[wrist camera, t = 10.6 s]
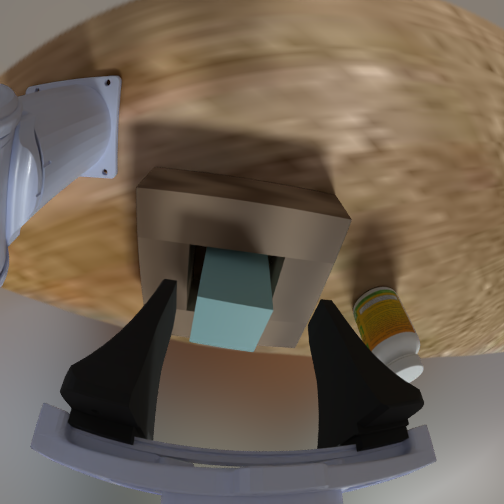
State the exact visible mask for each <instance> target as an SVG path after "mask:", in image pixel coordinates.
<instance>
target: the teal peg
mask: <svg viewBox="0 0 504 504" xmlns="http://www.w3.org/2000/svg"><path fill="white" fill-rule="evenodd" d="M272 312H273V301H272V291H271V281H270V271H269V262H268V255H265V254H258V253H250V252H243V251H236V250H228V249H221V248H214V247H207V249H206V254H205V259H204V264H203V269H202V274H201V279H200V284H199V289H198V295H197V300H196V306H195V312H194V317H193V323H192V329H191V335H190V341H189V342H194V343H200V344H205V345H211V346H217V347H223V348H229V349H235V350H242V351H249V352H254V350H255V348H256V346H257V344H258V342H259V339H260V337H261V335H262V333H263V331H264V329H265V327H266V325H267V323H268V321H269V319H270V316H271V314H272Z"/></svg>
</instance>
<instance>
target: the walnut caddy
mask: <svg viewBox="0 0 504 504" xmlns="http://www.w3.org/2000/svg"><path fill="white" fill-rule="evenodd" d="M136 208H137V234H138V251H139V264H140V275H141V285H142V295H143V303H144V305H145V304H146V303H147V301H148V300H149V299H150V298H151V296H152V295H153V294H154V292H155V291H156V289H157V288H158V286H159V285H160V283H161V282H162V280H163V279H170V280H177V307H176V315H175V321H174V326H173V330H172V334H171V335H175V336H181V337H188V338H190V335H191V329H192V323H193V317H194V312H195V306H196V300H197V295H198V289H199V284H200V280H196V279H193V271H194V256H195V245H199V246H206V247H214V248H221V249H228V250H236V251H243V252H250V253H258V254H265V255H272V258H271V261H270V265H269V271H270V281H271V291H272V301H273V312H272V314H271V316H270V319H269V321H268V323H267V325H266V327H265V329H264V331H263V333H262V335H261V337H260V339H259V342H258V344H257V345H259V346H272V347H288V348H295V347H296V345H297V343H298V341H299V339H300V337H301V335H302V333H303V331H304V329H305V327H306V325H307V323H308V320H309V318H310V316H311V314H312V312H313V310H314V308H315V306H316V303H317V301H318V299H319V297H320V295H321V293H322V290H323V288H324V286H325V284H326V281H327V279H328V277H329V274H330V272H331V270H332V267H333V265H334V263H335V260H336V258H337V256H338V253H339V251H340V248H341V246H342V243H343V241H344V238H345V236H346V233H347V231H348V228H349V226H350V223H351V220H352V219H351V218H350V216H349V215H348V213H347V212H346V210H345V209H344V207H343V206H342V204H341V203H340V201H339V200H338V198H337V197H336V195H332V194H328V193H323V192H318V191H313V190H308V189H303V188H298V187H293V186H287V185H282V184H276V183H270V182H265V181H259V180H252V179H246V178H240V177H233V176H226V175H219V174H211V173H203V172H195V171H187V170H178V169H168V168H158V167H154V168H153V169H152V170H151V171H150V172H149V174H148V175H147V176H146V177H145V178H144V179H143V180H142V181H141V183H140V184H139V185H138V186H137V187H136Z"/></svg>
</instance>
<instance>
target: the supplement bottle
mask: <svg viewBox="0 0 504 504" xmlns="http://www.w3.org/2000/svg"><path fill="white" fill-rule="evenodd" d="M353 314H354V318H355V321H356V323H357V326H358V329H359V332H360V335H361V338H362V341H363V343H364V344H365V345H366V346H367V347H368V348H369V349H370V351H371V352H372V353H373V354H374V355H375V356H376V357H377V358H378V359H379V360H380V361H381V362H383V363H384V364H385V365H386V366H387V367H388V368H389V369H390V370H392V371H393V372H394V373H395V374H397V375H398V376H399V377H401V378H402V379H404V380H405V381H406V382H408V383H409V382H411V381H413V380H414V379H415V378H417V377H418V376H419V375H420V374H421V373H422V371H423V364H422V362H421V359H420V357H419V355H418V354H417V353H418V351H419V348H420V340H419V338H418V335H417V333H416V331H415V329H414V327H413V325H412V323H411V321H410V319H409V317H408V315H407V313H406V311H405V309H404V307H403V305H402V303H401V301H400V299H399V297H398V295H397V293H396V292H395V291H394V290H393V289H391V288H388V287H378V288H374V289H372V290H369V291H368V292H366V293H365V294H363V295H362V296H361V297H360V298H359V299H358V300H357V302H356V303H355V305H354V308H353Z"/></svg>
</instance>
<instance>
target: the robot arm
mask: <svg viewBox="0 0 504 504" xmlns="http://www.w3.org/2000/svg"><path fill="white" fill-rule="evenodd" d="M108 79H109V80H110V82H111V83H110V85H109V86H108V85H107V80H108ZM121 82H122V81H121V78H120V77H119V76H102V77H90V78H81V79H72V80H65V81H58V82H52V83H46V84H41V85H36V86H31V87H28V88H27V90H26V95H22V96H19V97H17V96H16V94H15V93H14V91H13V90H12V89H11V88H9V87H8V86H6V85H3V84H0V287H1V286H2V284H3V282H4V280H5V278H6V275H7V272H8V267H9V252H8V246H9V245H10V244H11V243H12V242H13V241H14V240H15V239H16V238H17V237H18V236H19V234H20V229H21V227H22V226H23V225H24V224H25V223H26V222H27V221H28V220H29V219H30V218H31V217H32V216H33V215H34V214H35V213H36V212H37V211H39V210H40V209H41V208H42V207H43V206H44V205H45V204H46V203H47V202H49V201H50V200H51V199H52V198H53V197H54V196H56V195H57V194H58V193H59V192H60V191H62V190H63V189H64V188H65V187H66V186H68V185H69V184H70V183H71V182H73V181H74V180H75V179H76V178H78V177H79V176H82V177H98V178H114V177H115V176H116V175H117V151H118V120H119V105H120V93H121ZM38 89H39V91H38ZM104 169H106V170H107V172H108V173H107V174H106V173H105V172H104ZM176 307H177V280H170V279H163V280H162V282H161V283H160V285H159V286H158V288H157V289H156V291H155V292H154V294H153V295H152V296H151V298H150V299H149V300H148V301H147V303H146V304H145V305H144V306H143V308H142V309H141V310H140V311H139V312H138V313H137V314H136V315H135V317H134V318H133V319H132V320H131V321H130V322H129V323H128V324H127V325H126V326H125V327H124V328H123V329H122V330H121V331H120V332H119V333H118V334H116V335H115V336H114V337H113V338H112V339H111V340H109V341H108V342H107V343H106V344H104V345H103V346H102V347H100V348H99V349H97V350H96V351H94V352H93V353H92V354H90V355H89V356H87V357H86V358H84V359H82V360H80V361H79V362H77V363H75V364H73V365H71V367H70V368H69V371H68V372H67V374H66V376H65V379H64V381H63V384H62V387H61V390H60V393H61V395H62V397H63V398H64V400H65V401H66V402H67V403H68V404H69V406H70V407H71V408H72V409H71V412H70V414H69V413H68V412H66V411H64V410H62V409H59V408H57V407H54V406H52V405H49V404H47V403H43V406H42V408H41V412H40V415H39V418H38V421H37V424H36V428H35V431H34V435H33V439H32V442H31V448H32V449H33V450H35V451H36V452H38V453H40V454H41V455H43V456H45V457H47V458H48V459H50V460H52V461H54V462H56V463H59V464H61V465H63V466H66V467H68V468H71V469H73V470H76V471H78V472H81V473H83V474H86V475H89V476H92V477H95V478H98V479H100V480H104V481H107V482H110V483H114V484H116V485H120V486H124V487H128V488H132V489H135V490H139V491H143V492H148V493H153V494H157V495H161V504H343V499H342V493H344V492H349V491H353V490H357V489H361V488H365V487H368V486H372V485H376V484H379V483H382V482H386V481H389V480H392V479H395V478H398V477H401V476H404V475H407V474H410V473H412V472H414V471H417V470H419V469H421V468H423V467H425V466H428V465H429V464H432V463H434V462H436V457H435V453H434V449H433V445H432V441H431V438H430V434H429V431H428V428H427V425H422V426H419V427H415V428H412V429H410V430H407V428H406V426H407V425H408V424H409V422H408V418H410V417H411V416H412V415H414V414H415V413H416V412H418V411H419V410H420V409H421V408H422V407H423V405H424V401H423V398H422V395H421V392H420V390H419V389H418V388H416V387H414V386H413V385H411V384H410V383H408V382H406V381H405V380H404V379H402V378H401V377H399V376H398V375H397V374H395V373H394V372H393V371H392V370H390V369H389V368H388V367H387V366H386V365H385V364H384V363H383V362H381V361H380V360H379V359H378V358H377V357H376V356H375V355H374V354H373V353H372V352H371V351H370V349H369V348H368V347H367V346H366V345H365V344H364V343H363V341H362V340H361V339H360V338H359V336H358V335H357V334H356V333H355V331H354V330H353V329H352V327H351V326H350V325H349V323H348V322H347V321H346V319H345V318H344V317H343V315H342V314H341V312H340V311H339V310H338V308H337V307H336V305H335V304H334V303H333V302H332V300H323V299H321V300H320V302H319V304H318V306H317V308H316V310H315V312H314V314H313V316H312V318H311V320H310V322H309V324H308V335H309V344H310V350H311V355H312V360H313V364H314V369H315V374H316V379H317V388H318V403H319V404H318V405H319V432H318V446H317V449H311V450H297V451H233V450H218V449H207V448H198V447H190V446H182V445H176V444H169V443H164V442H158V441H153V435H154V422H155V411H156V403H157V395H158V388H159V381H160V375H161V370H162V365H163V361H164V358H165V354H166V351H167V347H168V344H169V340H170V337H171V334H172V330H173V326H174V321H175V315H176ZM193 463H198V464H208V465H220V466H240V468H209V467H194V464H193Z"/></svg>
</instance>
